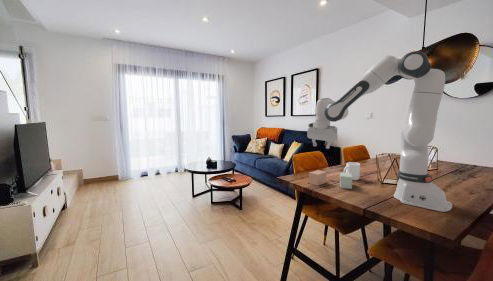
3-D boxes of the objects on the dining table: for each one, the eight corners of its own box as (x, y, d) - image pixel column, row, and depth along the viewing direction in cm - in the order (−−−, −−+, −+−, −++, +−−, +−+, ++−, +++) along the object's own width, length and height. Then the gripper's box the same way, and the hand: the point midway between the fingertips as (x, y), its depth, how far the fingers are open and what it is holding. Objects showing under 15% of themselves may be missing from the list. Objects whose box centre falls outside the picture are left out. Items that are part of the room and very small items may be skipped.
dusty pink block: (326, 182, 137) (326, 172, 136) (317, 185, 131) (317, 174, 131) (317, 180, 142) (317, 170, 141) (309, 183, 136) (309, 172, 135)
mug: (348, 181, 138) (348, 166, 137) (338, 178, 146) (339, 163, 145) (362, 179, 142) (363, 164, 141) (352, 176, 150) (353, 161, 149)
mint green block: (350, 184, 134) (351, 173, 133) (351, 189, 125) (352, 177, 124) (339, 183, 136) (340, 172, 135) (340, 187, 127) (340, 176, 127)
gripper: (340, 126, 125) (339, 149, 127) (312, 123, 142) (311, 144, 144) (334, 126, 122) (332, 150, 124) (306, 124, 139) (305, 145, 141)
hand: (321, 147), depth 134 cm, fingers open, 8 cm apart
